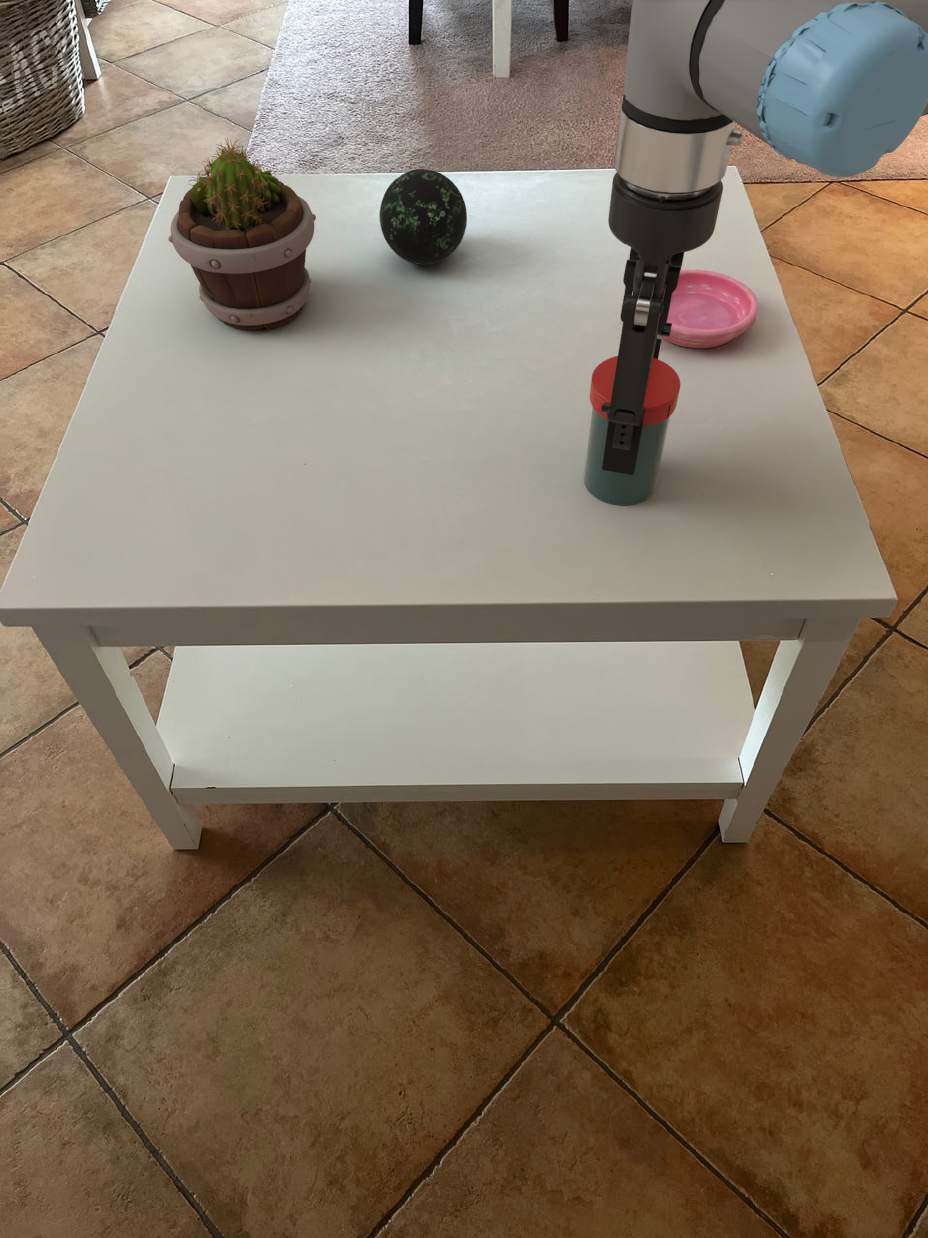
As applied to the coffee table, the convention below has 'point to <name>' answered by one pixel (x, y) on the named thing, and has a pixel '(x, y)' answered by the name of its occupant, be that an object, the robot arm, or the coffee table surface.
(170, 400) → the coffee table surface
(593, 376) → the jam lid
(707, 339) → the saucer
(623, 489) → the lidded canister
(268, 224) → the flowerpot
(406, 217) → the decorative stone
